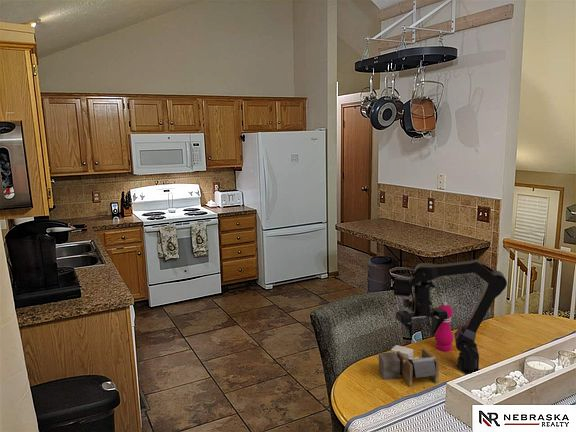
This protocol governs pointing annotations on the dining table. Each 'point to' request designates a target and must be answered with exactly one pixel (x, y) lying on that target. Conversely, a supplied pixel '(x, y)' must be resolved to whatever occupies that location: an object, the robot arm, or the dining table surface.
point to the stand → (389, 366)
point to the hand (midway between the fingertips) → (421, 336)
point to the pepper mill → (444, 331)
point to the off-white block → (403, 351)
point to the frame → (407, 367)
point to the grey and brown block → (422, 366)
